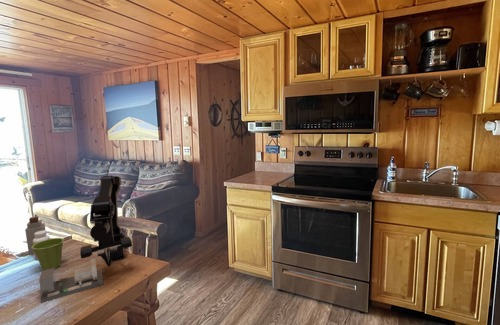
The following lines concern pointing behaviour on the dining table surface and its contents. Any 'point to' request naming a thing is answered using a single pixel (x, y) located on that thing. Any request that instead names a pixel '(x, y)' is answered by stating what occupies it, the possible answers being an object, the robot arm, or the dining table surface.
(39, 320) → the dining table surface
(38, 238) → the supplement bottle
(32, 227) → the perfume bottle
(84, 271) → the block with end plate
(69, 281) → the gauge bench
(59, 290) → the charcoal cuboid
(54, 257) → the plant pot
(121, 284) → the dining table surface
